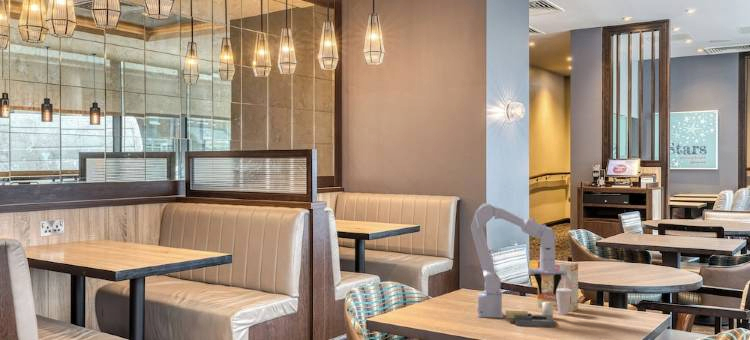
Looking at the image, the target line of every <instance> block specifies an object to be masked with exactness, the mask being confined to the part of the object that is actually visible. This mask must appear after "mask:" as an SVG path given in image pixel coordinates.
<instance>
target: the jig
mask: <svg viewBox="0 0 750 340" xmlns="http://www.w3.org/2000/svg"><path fill="white" fill-rule="evenodd" d="M513 320H514V325H515V327H538V328H539V327H541V328H544V327H545V328H555V320H554V317H553V318H552V316H551V315H542V314H532V313H530V312H528V316H515V318H513Z"/></svg>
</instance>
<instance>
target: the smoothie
mask: <svg viewBox="0 0 750 340" xmlns="http://www.w3.org/2000/svg"><path fill="white" fill-rule="evenodd" d="M571 293H572V290H571V289H566V279H564V288H557V290H556V297H557V305H558V310H557V312H558V314H559V315H562V316H566V315H569V313H570V312H569V304H570V296H571Z"/></svg>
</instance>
